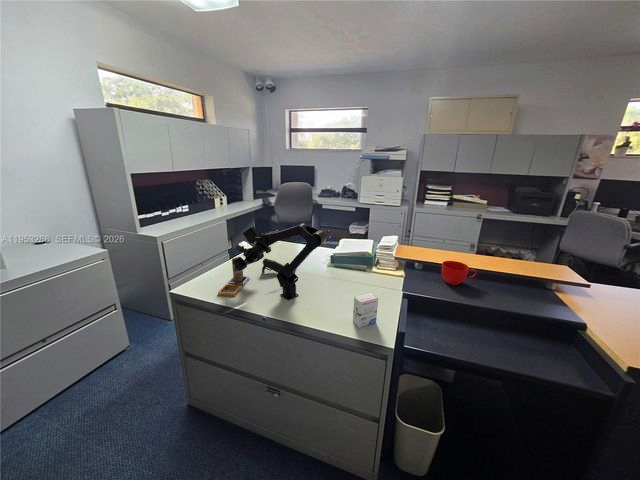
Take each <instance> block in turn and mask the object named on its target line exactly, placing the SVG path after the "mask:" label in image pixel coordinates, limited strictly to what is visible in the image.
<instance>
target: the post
mask: <svg viewBox="0 0 640 480" xmlns="http://www.w3.org/2000/svg"><path fill="white" fill-rule="evenodd" d="M237 257H238V256H237ZM237 257H233V258H232V259H231V262H232V261H233V260H234V259H235V258H237ZM231 266H232V267H231V268H232V275H233V277H234V282H238V283H242V282H243V276H244V271H243V270H242V271H236V272H234V267H235V265H234V264H233V263H232V265H231ZM233 277H232V278H233Z"/></svg>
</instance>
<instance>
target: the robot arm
mask: <svg viewBox="0 0 640 480" xmlns="http://www.w3.org/2000/svg"><path fill="white" fill-rule="evenodd" d="M298 235H299V236H301V238H303V240H304V241H306V243H305V245H304V247H303V248H302V249H301V250H300V252H298V253H297V255H296V256H295V257H294V259H292V260H291V261H290V263H289V262H286V263H285V264H282V265H283V266H282V267H281V268H280V270H279V271H277V272H276V278H277V281H278V284H279V286H280V288H282V292H281V293H280V294H279V295H280V296H281V297H283V298H284V299H286V300H288V301H290V300H292V299H294V298H296V297H298V296H299V293H297V285H296V283H297V282H298V281H299V276H298V275H297V274H296V271H297V269H298V267H300V265H301V264H302V263H303V262H304V261H305V260H306V259H307V258H308V257H309V256H310V254H312V252H313V251H315V250H316V249H317V248H319V247H320V246H321V245H322V244H324V243H326V241H327V239H328V237H327V236H328V235H327V233H326V232H325V231H323V230H321V229H318V228H316V227H313V226H311V225H310V226H309V225H307V224H306V223H300V224H298V225H296V226H295V225H294V226H292V227H289V228H285V229H283V230H278V231H276V230H273V231H272V230H271V231H268V232H266V233H261V234H260V233H259V232H258V230H257V229H256V228H255V226H250V227H249V228H247V229H246V230H245V231H243V232H242V236H243V237H244V239H246V241H244V240H243V241H241V242H239V243H238V244H237V245H236V249H235V250H236V251H237V252H239V253H242V255H243V256H244V258H245V259H243V258H242V257H241V256H237V258H235V257H234V258H235V259H234V260H233V261H232V260H231V262H232V263H233V264H234V265H235V267H234V272H236V271H242V270H245V269H246V268H247V267H248V265H251V264H254V263H256V262H259V261H260V260H262V259H263V258H264V257H265V253H266V254H269V253H271V252H272V246H271V245H273V244H275V243H277V242H279V241H283V240H285V239H288V238H292V237H294V236H298ZM251 244H252V245H253V246H252V245H251Z"/></svg>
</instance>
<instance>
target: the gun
mask: <svg viewBox="0 0 640 480" xmlns="http://www.w3.org/2000/svg"><path fill="white" fill-rule="evenodd" d="M262 265H263V266H262V268H261V273H265V271H266V270H267V271H270V272H271V271H273V272H275V273H277V271H279V270H280V268H281V267H282V266H283V265H284V264H283V263H280V262H278V261H276V260H273V259H269V258H264V259H263V260H262Z"/></svg>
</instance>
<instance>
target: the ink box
mask: <svg viewBox="0 0 640 480" xmlns="http://www.w3.org/2000/svg"><path fill="white" fill-rule="evenodd" d="M378 304H379V298H378V296H376V295H375V294H373V293H372V292H370V293H365V294H361V295H357V296H354V297H353V311H352V312H353V313H352V315H353V316H352V322H353V323H354V324H355V325H356V327H357V328H359V329H360V328H363V327H367V326H369V325H372V324H376V323H377V317H378V316H377V315H378V308H379V307H378Z"/></svg>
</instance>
